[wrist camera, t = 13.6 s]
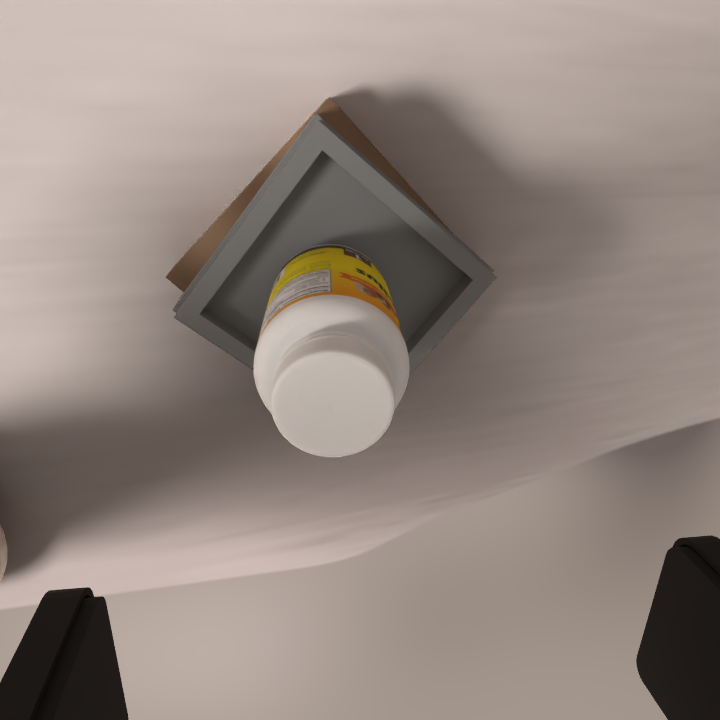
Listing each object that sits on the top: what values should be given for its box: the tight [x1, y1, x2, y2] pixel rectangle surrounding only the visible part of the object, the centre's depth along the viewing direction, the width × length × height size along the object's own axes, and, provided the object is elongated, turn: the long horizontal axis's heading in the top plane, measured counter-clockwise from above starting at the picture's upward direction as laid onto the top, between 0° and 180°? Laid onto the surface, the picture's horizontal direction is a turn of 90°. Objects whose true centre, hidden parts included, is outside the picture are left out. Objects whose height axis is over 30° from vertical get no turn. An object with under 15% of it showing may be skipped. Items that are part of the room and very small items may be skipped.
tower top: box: [173, 114, 496, 375], centre depth 28 cm, size 11×11×4 cm
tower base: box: [166, 97, 452, 292], centre depth 31 cm, size 12×12×3 cm
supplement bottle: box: [253, 244, 410, 457], centre depth 22 cm, size 6×6×10 cm
